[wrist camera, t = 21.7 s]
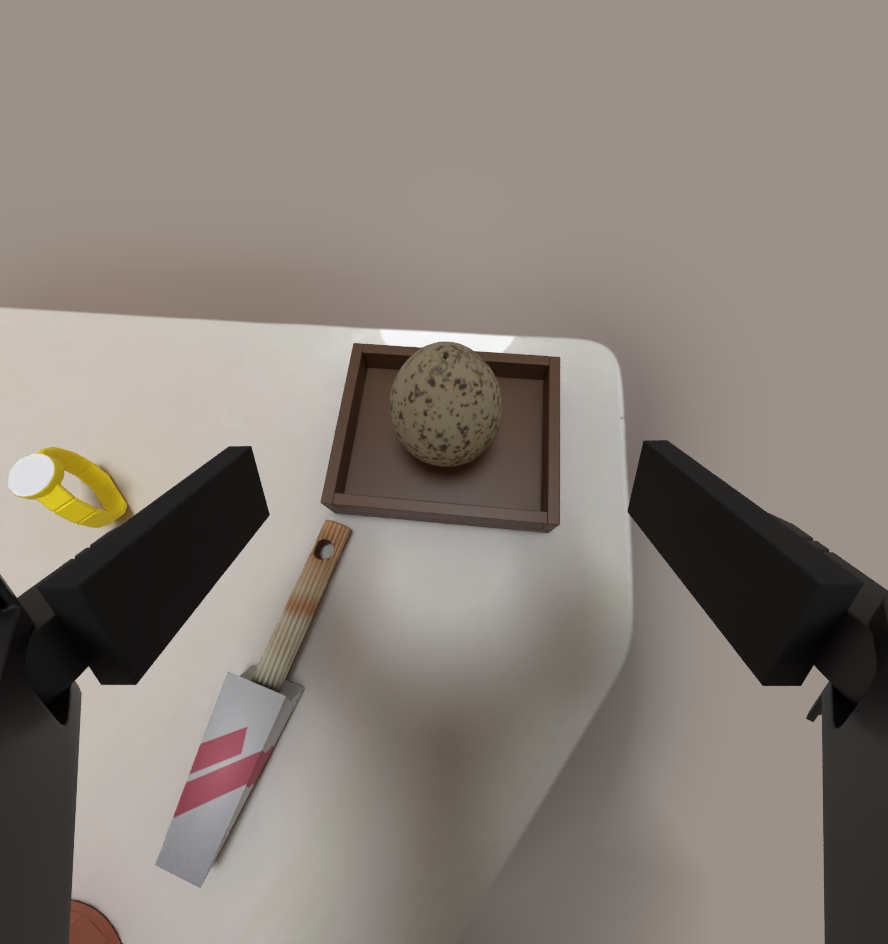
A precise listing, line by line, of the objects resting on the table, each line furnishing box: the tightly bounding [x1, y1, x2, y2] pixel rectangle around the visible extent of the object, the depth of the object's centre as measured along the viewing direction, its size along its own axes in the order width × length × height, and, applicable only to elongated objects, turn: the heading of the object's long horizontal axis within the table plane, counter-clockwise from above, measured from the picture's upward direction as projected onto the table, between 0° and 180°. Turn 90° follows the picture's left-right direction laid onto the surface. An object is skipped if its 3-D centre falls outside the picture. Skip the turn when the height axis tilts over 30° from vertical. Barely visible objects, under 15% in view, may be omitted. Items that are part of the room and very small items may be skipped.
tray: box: [321, 343, 560, 533], centre depth 28 cm, size 16×13×3 cm
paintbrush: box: [155, 520, 350, 888], centre depth 23 cm, size 4×3×20 cm
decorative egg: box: [389, 342, 502, 467], centre depth 24 cm, size 7×7×10 cm
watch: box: [7, 447, 128, 528], centre depth 26 cm, size 6×3×6 cm, turn 40°
